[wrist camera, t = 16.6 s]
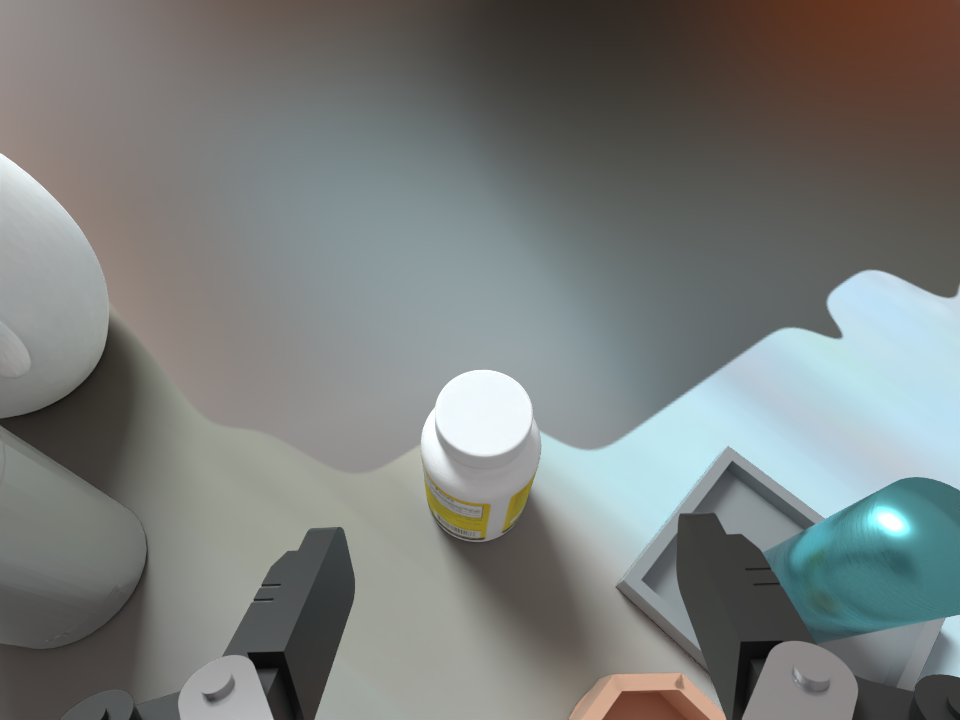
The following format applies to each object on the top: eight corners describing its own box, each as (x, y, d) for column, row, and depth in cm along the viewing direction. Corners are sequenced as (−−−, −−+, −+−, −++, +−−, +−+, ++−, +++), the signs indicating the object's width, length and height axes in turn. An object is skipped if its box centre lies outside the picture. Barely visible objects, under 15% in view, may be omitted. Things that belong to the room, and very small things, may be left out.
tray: (615, 586, 37) (623, 580, 36) (717, 456, 43) (728, 445, 41) (842, 795, 32) (863, 799, 30) (925, 616, 37) (948, 611, 36)
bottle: (714, 602, 37) (855, 540, 24) (756, 539, 39) (904, 453, 26) (793, 670, 35) (991, 642, 22) (832, 600, 37) (1031, 538, 24)
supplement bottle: (507, 438, 43) (528, 343, 32) (538, 528, 39) (573, 457, 28) (416, 460, 42) (404, 370, 31) (439, 556, 38) (435, 492, 27)
